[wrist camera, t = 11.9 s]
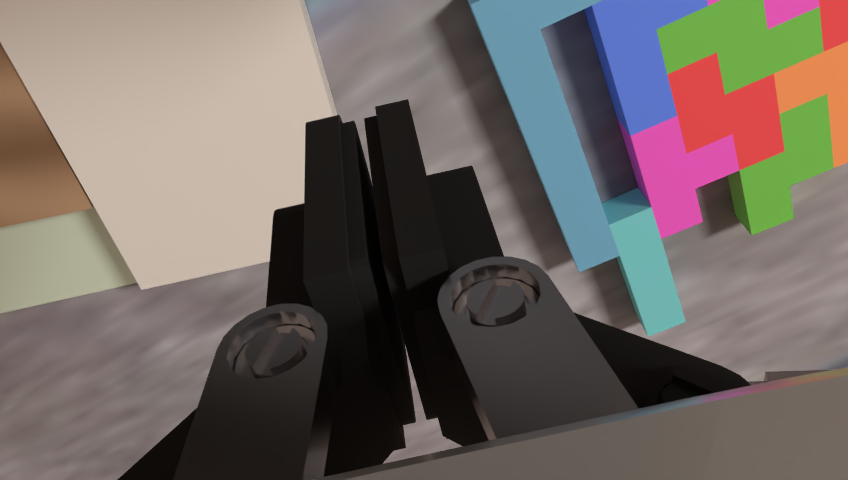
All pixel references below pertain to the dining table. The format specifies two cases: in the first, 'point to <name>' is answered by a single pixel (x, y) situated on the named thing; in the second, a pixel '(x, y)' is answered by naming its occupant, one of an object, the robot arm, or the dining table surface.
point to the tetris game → (678, 118)
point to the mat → (58, 260)
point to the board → (176, 119)
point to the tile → (31, 158)
